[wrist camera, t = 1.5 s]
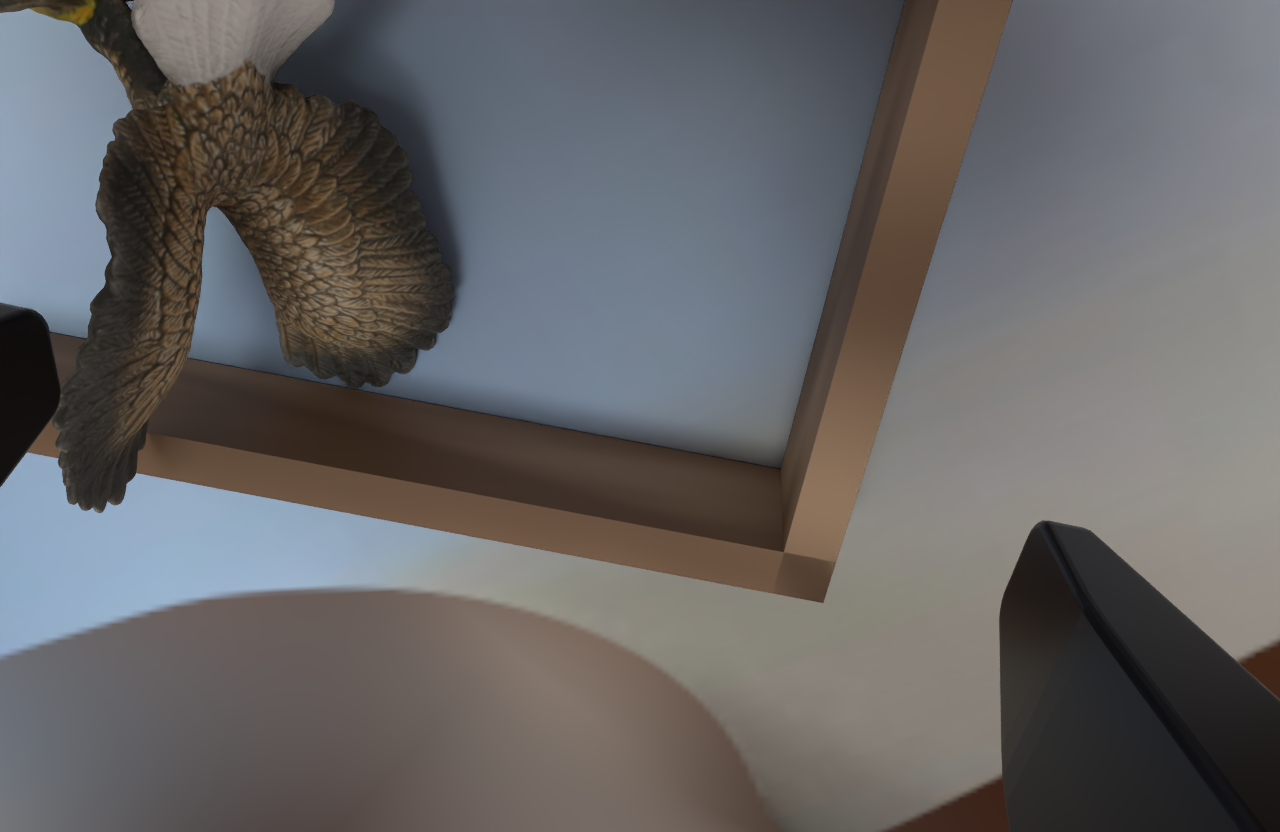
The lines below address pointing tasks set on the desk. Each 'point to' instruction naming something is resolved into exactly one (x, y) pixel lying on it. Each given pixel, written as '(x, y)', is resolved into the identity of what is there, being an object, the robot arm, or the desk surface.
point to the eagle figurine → (235, 218)
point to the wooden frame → (613, 468)
